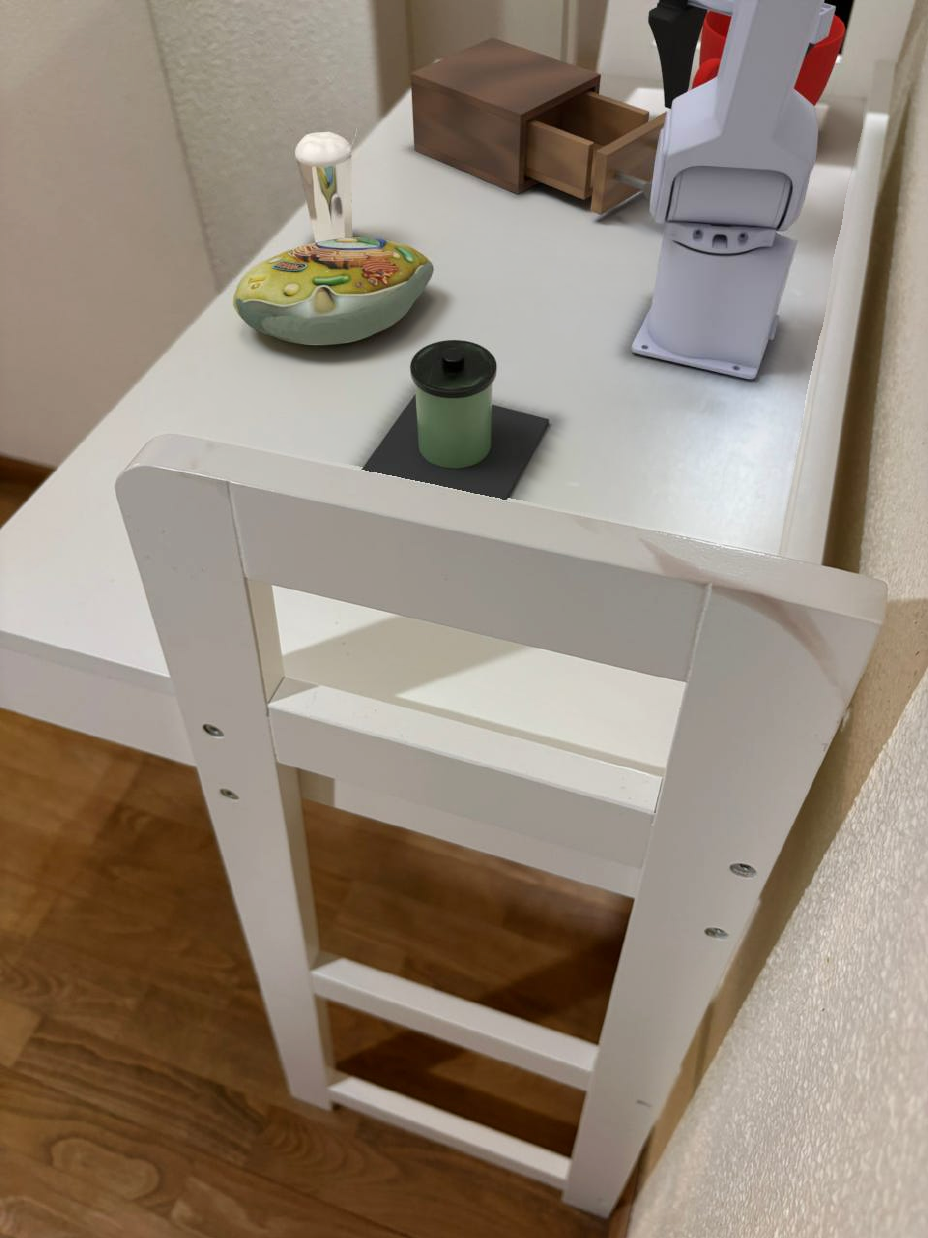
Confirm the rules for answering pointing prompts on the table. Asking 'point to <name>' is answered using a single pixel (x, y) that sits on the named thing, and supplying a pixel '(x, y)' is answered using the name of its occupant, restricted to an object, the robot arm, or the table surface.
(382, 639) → the table surface
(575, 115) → the drawer
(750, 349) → the robot arm
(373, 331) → the cell model
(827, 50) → the ceramic cup
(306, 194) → the milkshake
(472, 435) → the pot
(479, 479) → the mat
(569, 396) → the table surface
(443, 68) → the cabinet
